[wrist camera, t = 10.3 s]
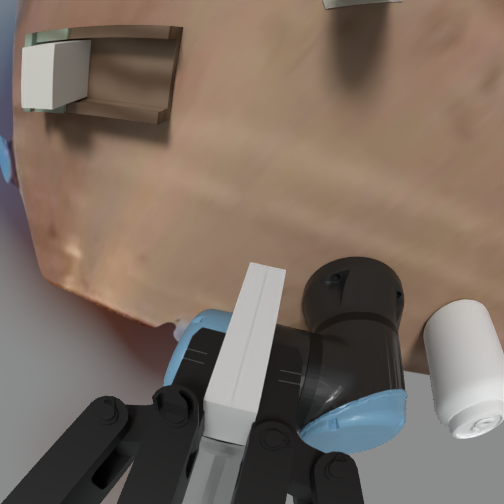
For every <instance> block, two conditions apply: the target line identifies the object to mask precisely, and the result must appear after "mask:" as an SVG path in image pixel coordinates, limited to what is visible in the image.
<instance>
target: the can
mask: <svg viewBox="0 0 504 504" xmlns="http://www.w3.org/2000/svg"><path fill="white" fill-rule="evenodd" d="M423 340H424V345H425V350H426V355H427V361H428V367H429V373H430V379H431V386H432V392H433V400H434V407H435V412H436V414H437V417H438V419H439V421H440V423H442V424H444V425H446V426H448V427H450V431H451V433H452V435H453V436H454V437H455V438H460V439H465V438H472V437H475V436H479V435H481V434H484V433H486V432H488V431H490V430H492V429H493V428H495V427H496V426H498V425H499V424H500V423H501V422H502V421H503V420H504V354H503V351H502V348H501V345H500V342H499V339H498V337H497V334H496V331H495V328H494V326H493V323H492V321H491V318H490V316H489V313H488V311H487V309H486V308H485V307H484V306H483V304H481V303H480V302H477V301H475V300H468V299H463V300H458V301H454V302H451V303H449V304H447V305H445V306H443V307H442V308H440V309H439V310H438V311H436V312H435V313H434V314H433V315H432V316H431V317H430V318H429V320H428V321H427V323H426V326H425V328H424V332H423Z"/></svg>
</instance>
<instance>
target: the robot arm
mask: <svg viewBox="0 0 504 504" xmlns="http://www.w3.org/2000/svg"><path fill="white" fill-rule="evenodd" d="M285 273H286V270H284V269H279V268H274V267H270V266H265V265H261V264H256V263H252V262H250V265H249V268H248V271H247V274H246V277H245V280H244V282H243V285H242V288H241V291H240V294H239V297H238V300H237V303H236V306H235V309H234V312H233V313H230V312H226V311H221V310H217V309H207V310H204V311H202V312H201V313H199V314H198V315H197V316H196V317H195V318H194V319H193V320H192V321H191V323H190V324H189V326H188V327H187V329H186V330H185V332H184V333H183V335H182V337H181V339H180V341H179V343H178V345H177V347H176V349H175V351H174V353H173V356H172V358H171V360H170V363H169V366H168V369H167V372H166V375H165V378H164V386H163V387H162V388H160V389H159V390H157V391H156V392H155V394H154V395H153V397H152V399H153V403H154V404H152V405H125V404H124V403H123V402H122V401H121V400H120V399H118V398H116V397H113V396H103V397H99V398H97V399H96V400H94V401H93V402H92V403H91V404H90V405H89V406H88V407H87V408H86V409H85V410H84V411H83V413H82V414H81V415H80V416H79V417H78V418H77V419H76V420H75V421H74V423H72V425H71V426H70V427H69V428H68V429H67V430H66V431H65V432H64V434H63V435H62V436H61V437H60V438H59V439H58V440H57V441H56V442H55V443H54V445H53V446H52V447H51V448H50V449H49V450H48V451H47V453H45V455H44V456H43V457H42V458H41V459H40V460H39V461H38V462H37V464H36V465H35V466H34V467H33V468H32V469H31V470H30V471H29V473H28V474H27V475H26V476H25V477H24V478H23V479H22V480H21V482H20V483H19V484H18V485H17V486H16V488H14V490H13V491H12V492H11V493H10V494H9V495H8V496H7V498H6V499H5V500H4V501H3V502H2V503H1V504H100V503H101V502H102V501H103V499H104V498H105V497H106V496H107V494H108V493H109V492H110V490H111V489H112V488H113V487H114V485H115V484H116V483H117V482H118V480H119V479H120V478H121V477H122V475H123V474H124V473H125V471H126V470H127V469H128V467H129V466H130V465H131V463H132V462H133V461H134V462H133V465H132V468H131V470H130V473H129V475H128V477H127V480H126V482H125V485H124V487H123V489H122V492H121V495H120V497H119V499H118V502H117V504H285V502H286V496H287V493H288V494H290V495H292V496H293V502H294V504H364V500H363V495H362V489H361V485H360V479H359V474H358V469H357V466H356V464H355V461H354V460H353V459H352V458H351V457H350V456H349V455H347V454H350V453H356V452H361V451H365V450H368V449H372V448H375V447H377V446H380V445H382V444H384V443H386V442H388V441H389V440H391V439H392V438H394V437H395V436H396V435H397V434H398V433H399V432H400V431H401V429H402V428H403V426H404V423H405V420H406V399H407V393H406V391H405V383H404V375H403V365H402V358H401V350H400V343H399V337H398V329H399V325H400V321H401V317H402V312H403V308H404V293H403V289H402V285H401V281H400V279H399V277H398V276H397V274H396V273H395V272H394V271H393V270H392V269H391V268H390V267H389V266H387V265H386V264H384V263H382V262H380V261H377V260H374V259H371V258H365V257H348V258H342V259H338V260H335V261H332V262H330V263H328V264H326V265H324V266H323V267H321V268H320V269H318V270H317V271H316V272H315V273H314V274H313V275H312V276H311V277H310V279H309V280H308V282H307V284H306V286H305V290H304V296H303V312H304V316H305V319H306V322H307V325H308V328H309V331H310V332H308V331H304V330H300V329H295V328H291V327H287V326H283V325H279V324H276V321H277V316H278V311H279V305H280V300H281V295H282V289H283V284H284V279H285ZM297 432H298V433H299V434H298V433H297Z"/></svg>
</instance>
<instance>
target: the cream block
mask: <svg viewBox="0 0 504 504" xmlns="http://www.w3.org/2000/svg"><path fill="white" fill-rule="evenodd" d="M91 40H92V39H88V40H70V41H58V42H52V43H46V44H40V45H35V46H29V47H24V48H23V51H22V80H21V94H22V108H35V109H50V110H53V109H55V108H58V107H60V106H63V105H66V104H68V103H71V102H73V101H76V100H79V99H82V98H85V97H87V92H88V74H89V61H90V50H91Z"/></svg>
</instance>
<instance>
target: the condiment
mask: <svg viewBox="0 0 504 504" xmlns="http://www.w3.org/2000/svg"><path fill="white" fill-rule="evenodd" d="M399 1H401V0H323V3H324V6H325V9H328V8H335V7H342V6H350V5H359V4H370V3H383V2H399Z"/></svg>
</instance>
